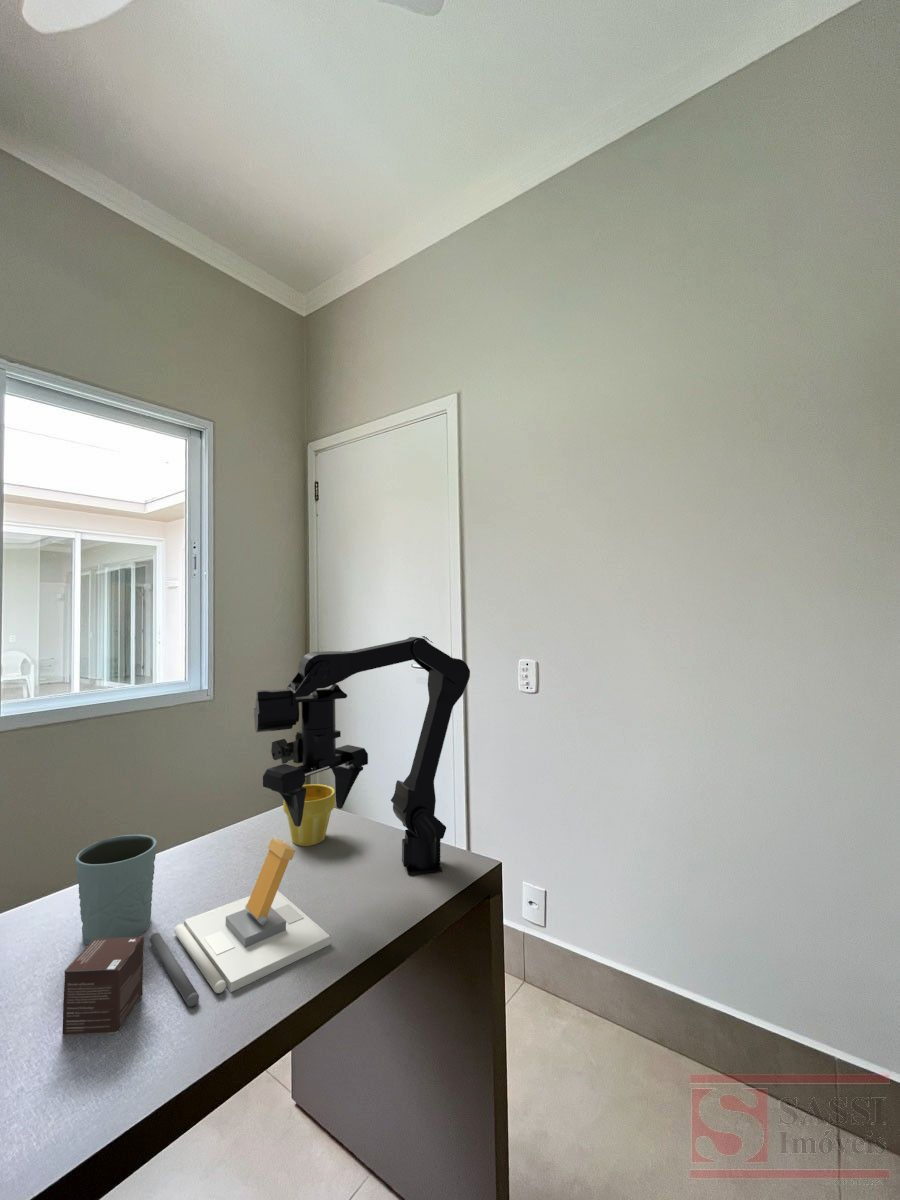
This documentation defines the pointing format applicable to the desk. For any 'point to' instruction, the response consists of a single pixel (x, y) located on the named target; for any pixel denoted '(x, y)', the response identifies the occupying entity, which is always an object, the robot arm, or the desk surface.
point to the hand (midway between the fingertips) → (319, 816)
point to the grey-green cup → (116, 886)
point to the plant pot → (313, 815)
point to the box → (103, 986)
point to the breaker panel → (254, 939)
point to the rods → (178, 973)
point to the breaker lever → (269, 880)
